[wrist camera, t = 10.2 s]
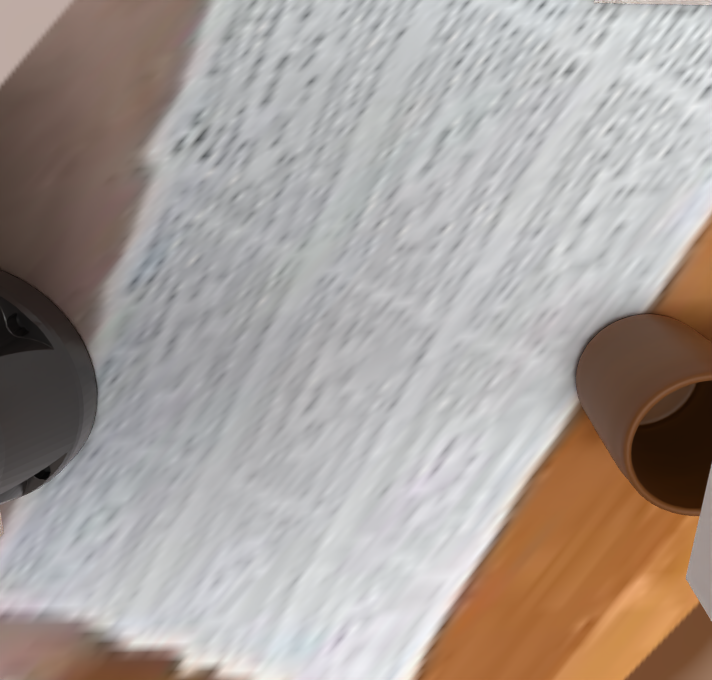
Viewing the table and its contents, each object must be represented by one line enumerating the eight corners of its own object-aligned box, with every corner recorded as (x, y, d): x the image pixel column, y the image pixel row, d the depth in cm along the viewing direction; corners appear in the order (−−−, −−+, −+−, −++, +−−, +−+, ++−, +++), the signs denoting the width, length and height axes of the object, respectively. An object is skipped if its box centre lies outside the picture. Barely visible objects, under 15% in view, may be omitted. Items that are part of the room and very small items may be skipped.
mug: (737, 236, 36) (846, 276, 27) (802, 343, 38) (925, 414, 29) (546, 358, 39) (588, 430, 30) (614, 452, 41) (673, 547, 32)
